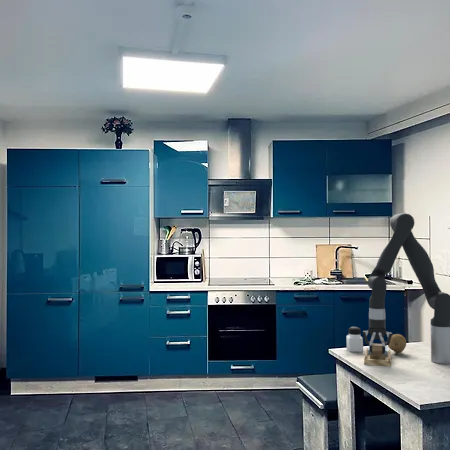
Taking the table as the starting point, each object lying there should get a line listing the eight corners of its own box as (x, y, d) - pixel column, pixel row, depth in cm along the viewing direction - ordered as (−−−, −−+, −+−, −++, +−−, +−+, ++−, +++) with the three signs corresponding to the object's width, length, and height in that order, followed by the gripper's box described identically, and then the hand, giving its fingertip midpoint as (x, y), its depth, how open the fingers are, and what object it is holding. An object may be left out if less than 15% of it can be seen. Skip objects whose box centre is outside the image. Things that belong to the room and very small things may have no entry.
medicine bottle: (363, 351, 253) (363, 328, 253) (349, 351, 253) (349, 328, 253) (359, 348, 260) (359, 326, 260) (346, 348, 260) (346, 326, 260)
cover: (387, 351, 242) (387, 344, 242) (387, 355, 234) (387, 348, 234) (368, 350, 245) (368, 343, 245) (368, 354, 237) (368, 346, 237)
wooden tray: (390, 356, 243) (390, 349, 243) (391, 366, 225) (390, 358, 225) (365, 354, 247) (365, 347, 247) (364, 364, 229) (364, 357, 229)
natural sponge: (396, 356, 243) (396, 336, 243) (383, 352, 251) (383, 333, 251) (410, 354, 246) (409, 334, 247) (397, 350, 255) (397, 331, 255)
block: (382, 355, 229) (382, 346, 229) (372, 354, 230) (372, 345, 230) (382, 353, 233) (382, 344, 233) (372, 352, 235) (372, 343, 235)
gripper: (361, 318, 231) (361, 354, 230) (392, 319, 226) (393, 356, 226) (361, 315, 238) (362, 350, 238) (392, 317, 233) (393, 352, 233)
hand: (377, 353), depth 232 cm, fingers closed on block, 4 cm apart
